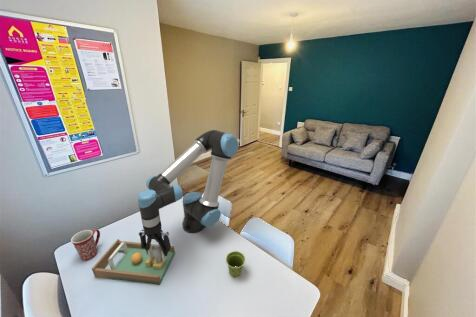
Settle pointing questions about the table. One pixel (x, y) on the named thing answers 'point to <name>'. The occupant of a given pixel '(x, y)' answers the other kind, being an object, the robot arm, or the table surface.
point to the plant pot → (235, 263)
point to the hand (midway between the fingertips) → (158, 259)
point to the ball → (136, 258)
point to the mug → (86, 243)
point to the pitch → (131, 264)
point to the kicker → (158, 261)
